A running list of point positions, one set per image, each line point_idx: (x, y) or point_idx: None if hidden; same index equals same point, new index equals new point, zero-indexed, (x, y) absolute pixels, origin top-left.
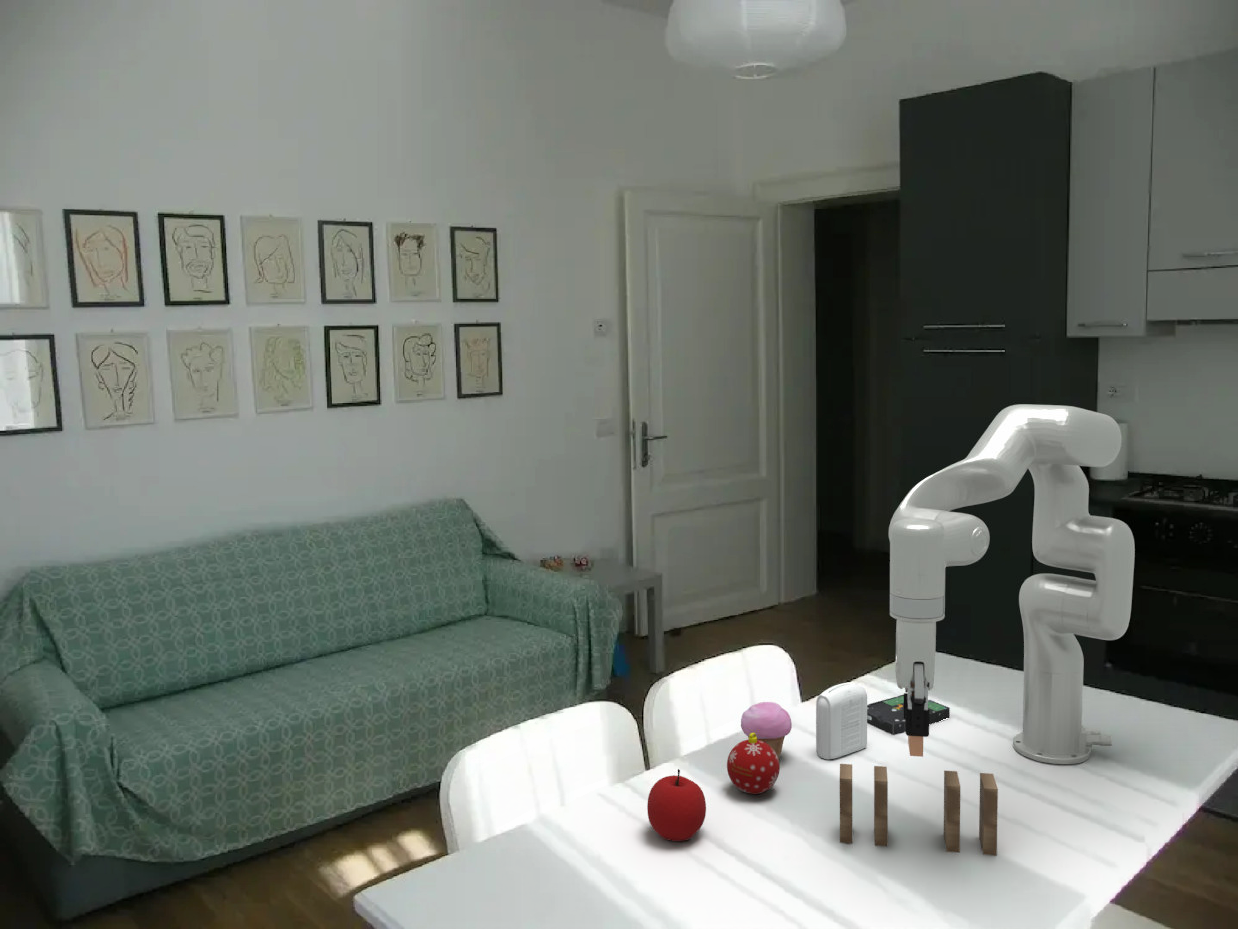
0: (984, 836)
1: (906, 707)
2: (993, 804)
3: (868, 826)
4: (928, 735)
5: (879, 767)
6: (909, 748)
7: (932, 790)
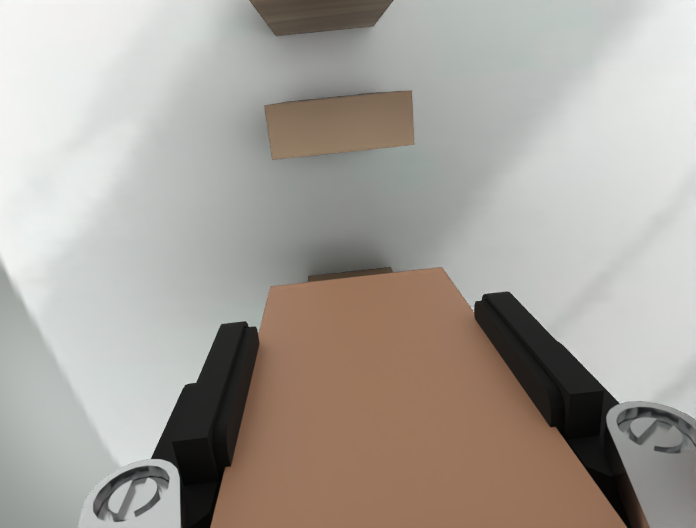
0: None
1: (207, 444)
2: None
3: (389, 74)
4: None
5: (399, 115)
6: (325, 286)
7: (626, 232)
